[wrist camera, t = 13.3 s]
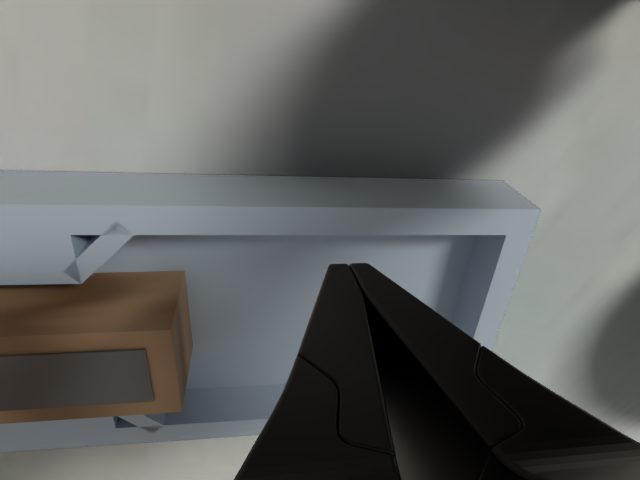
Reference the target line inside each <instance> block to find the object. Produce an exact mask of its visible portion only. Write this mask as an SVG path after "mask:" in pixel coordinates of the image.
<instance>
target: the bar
mask: <svg viewBox="0 0 640 480" xmlns="http://www.w3.org/2000/svg"><path fill="white" fill-rule="evenodd" d="M192 349H193V340H192V331H191V322H190V313H189V304H188V294H187V285H186V276H185V271H152V272H107V273H93V274H92V275H91V276H90V277H88V278H87V279H86V280H85V281H84V282H83V283H82V284H37V285H0V424H9V423H24V422H39V421H53V420H68V419H83V418H98V417H113V416H128V415H143V414H158V413H173V412H182V408H183V402H184V396H185V391H186V385H187V379H188V373H189V367H190V361H191V355H192Z"/></svg>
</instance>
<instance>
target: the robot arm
mask: <svg viewBox="0 0 640 480" xmlns="http://www.w3.org/2000/svg"><path fill="white" fill-rule="evenodd" d="M234 480H640V443H639V442H637V441H635V440H633V439H631V438H629V437H628V436H626V435H624V434H622V433H621V432H619V431H617V430H616V429H614V428H612V427H611V426H609V425H607V424H606V423H604V422H602V421H601V420H599V419H597V418H596V417H594V416H592V415H591V414H589V413H588V412H586V411H584V410H583V409H581V408H579V407H578V406H576V405H574V404H573V403H571V402H569V401H568V400H566V399H564V398H563V397H561V396H559V395H558V394H556V393H554V392H553V391H551V390H550V389H548V388H546V387H545V386H543V385H542V384H540V383H538V382H537V381H535V380H534V379H532V378H530V377H529V376H527V375H526V374H524V373H522V372H521V371H520V370H518V369H517V368H515V367H514V366H512V365H511V364H509V363H508V362H506V361H505V360H503V359H502V358H500V357H499V356H498V355H496V354H495V353H493V352H492V351H491V350H489V349H488V348H486V347H485V346H481V344H480V343H479V342H478V341H476V340H475V339H474V338H472V337H471V336H469V335H468V334H467V333H465V332H464V331H462V330H461V329H460V328H458V327H457V326H455V325H454V324H453V323H451V322H450V321H448V320H447V319H446V318H444V317H443V316H441V315H440V314H439V313H437V312H436V311H434V310H433V309H432V308H430V307H429V306H427V305H426V304H424V303H423V302H422V301H420V300H419V299H417V298H416V297H415V296H413V295H412V294H410V293H409V292H408V291H406V290H405V289H403V288H402V287H401V286H399V285H398V284H396V283H395V282H394V281H392V280H391V279H389V278H388V277H387V276H385V275H384V274H382V273H381V272H380V271H378V270H377V269H375V268H374V267H373V266H371V265H370V264H368V263H351V264H349V265H348V264H345V263H344V264H330V265H329V266H328V268H327V271H326V274H325V277H324V280H323V283H322V285H321V288H320V291H319V294H318V297H317V300H316V303H315V305H314V308H313V311H312V314H311V317H310V320H309V322H308V325H307V328H306V331H305V334H304V337H303V339H302V342H301V345H300V348H299V351H298V354H297V357H296V359H295V361H294V364H293V367H292V370H291V372H290V375H289V377H288V380H287V382H286V385H285V387H284V390H283V392H282V394H281V396H280V398H279V400H278V402H277V404H276V406H275V408H274V410H273V412H272V413H271V415H270V417H269V419H268V421H267V422H266V424H265V426H264V428H263V429H262V431H261V433H260V435H259V437H258V438H257V440H256V442H255V444H254V445H253V447H252V449H251V451H250V453H249V454H248V456H247V458H246V460H245V461H244V463H243V465H242V467H241V469H240V470H239V472H238V474H237V475H236V477H235V479H234Z"/></svg>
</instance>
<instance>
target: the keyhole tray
mask: <svg viewBox="0 0 640 480" xmlns="http://www.w3.org/2000/svg"><path fill="white" fill-rule="evenodd" d="M540 212H541V209H540V208H539V207H538V206H536V205H535V204H534V203H532V202H531V201H530V200H528V199H527V198H526V197H524V196H523V195H522V194H520V193H519V192H518V191H516V190H515V189H514V188H512V187H511V186H510V185H509V184H507V183H506V182H505V181H503V180H454V179H405V178H356V177H307V176H258V175H208V174H159V173H110V172H61V171H11V170H0V285H37V284H82V283H83V282H84V281H85V280H86V279H87V278H88V277H90V276H91V275H92V274H93V273H107V272H152V271H185V276H186V285H187V294H188V304H189V313H190V322H191V331H192V340H193V349H192V355H191V361H190V367H189V373H188V379H187V385H186V391H185V396H184V402H183V408H182V412H173V413H158V414H143V415H128V416H113V417H98V418H83V419H68V420H53V421H39V422H24V423H9V424H0V453H2V452H16V451H31V450H46V449H60V448H75V447H90V446H105V445H119V444H134V443H149V442H163V441H178V440H193V439H207V438H222V437H237V436H252V435H260V433H261V431H262V429H263V428H264V426H265V424H266V422H267V421H268V419H269V417H270V415H271V413H272V412H273V410H274V408H275V406H276V404H277V402H278V400H279V398H280V396H281V394H282V392H283V390H284V387H285V385H286V382H287V380H288V377H289V375H290V372H291V370H292V367H293V364H294V361H295V359H296V357H297V354H298V351H299V348H300V345H301V342H302V339H303V337H304V334H305V331H306V328H307V325H308V322H309V320H310V317H311V314H312V311H313V308H314V305H315V303H316V300H317V297H318V294H319V291H320V288H321V285H322V283H323V280H324V277H325V274H326V271H327V268H328V266H329V265H330V264H344V263H345V264H348V265H349V264H351V263H368V264H370V265H371V266H373V267H374V268H375V269H377V270H378V271H380V272H381V273H382V274H384V275H385V276H387V277H388V278H389V279H391V280H392V281H394V282H395V283H396V284H398V285H399V286H401V287H402V288H403V289H405V290H406V291H408V292H409V293H410V294H412V295H413V296H415V297H416V298H417V299H419V300H420V301H422V302H423V303H424V304H426V305H427V306H429V307H430V308H432V309H433V310H434V311H436V312H437V313H439V314H440V315H441V316H443V317H444V318H446V319H447V320H448V321H450V322H451V323H453V324H454V325H455V326H457V327H458V328H460V329H461V330H462V331H464V332H465V333H467V334H468V335H469V336H471V337H472V338H474V339H475V340H476V341H478V342H479V343H480V344H481V346H485V347H486V348H488V349H489V350H491V351H492V349H493V346H494V343H495V340H496V337H497V334H498V332H499V329H500V326H501V323H502V320H503V317H504V315H505V312H506V309H507V306H508V303H509V300H510V298H511V295H512V292H513V289H514V286H515V283H516V280H517V278H518V275H519V272H520V269H521V266H522V263H523V261H524V258H525V255H526V252H527V249H528V246H529V244H530V241H531V238H532V235H533V232H534V229H535V227H536V224H537V221H538V218H539V215H540Z"/></svg>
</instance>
